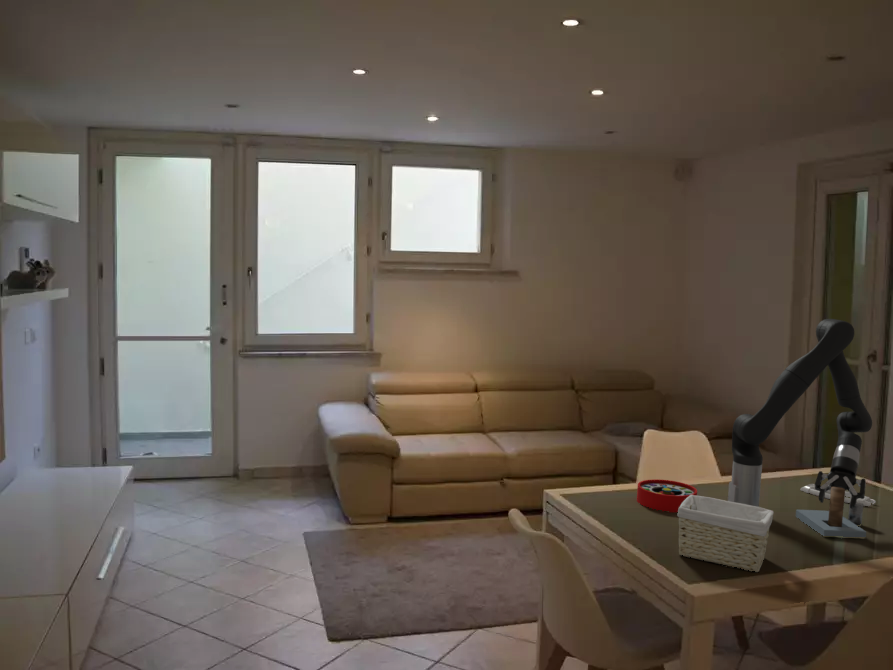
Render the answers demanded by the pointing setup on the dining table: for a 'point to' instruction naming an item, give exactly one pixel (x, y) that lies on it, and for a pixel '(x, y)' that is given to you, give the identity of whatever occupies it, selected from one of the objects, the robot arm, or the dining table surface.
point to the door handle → (812, 490)
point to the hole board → (820, 524)
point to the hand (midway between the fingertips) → (836, 504)
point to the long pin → (836, 507)
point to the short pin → (856, 514)
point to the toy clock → (663, 494)
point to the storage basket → (723, 532)
